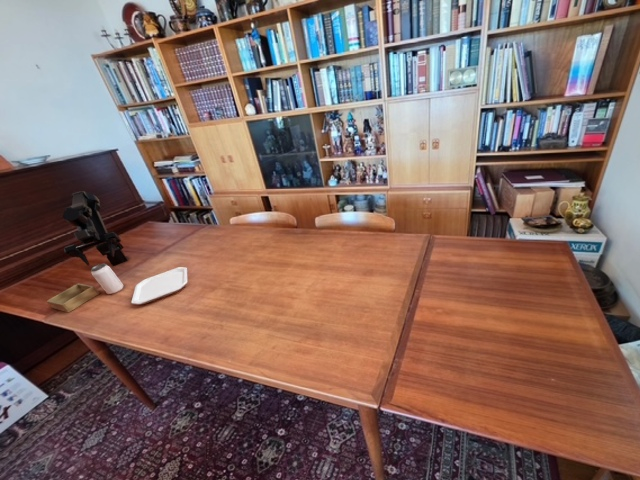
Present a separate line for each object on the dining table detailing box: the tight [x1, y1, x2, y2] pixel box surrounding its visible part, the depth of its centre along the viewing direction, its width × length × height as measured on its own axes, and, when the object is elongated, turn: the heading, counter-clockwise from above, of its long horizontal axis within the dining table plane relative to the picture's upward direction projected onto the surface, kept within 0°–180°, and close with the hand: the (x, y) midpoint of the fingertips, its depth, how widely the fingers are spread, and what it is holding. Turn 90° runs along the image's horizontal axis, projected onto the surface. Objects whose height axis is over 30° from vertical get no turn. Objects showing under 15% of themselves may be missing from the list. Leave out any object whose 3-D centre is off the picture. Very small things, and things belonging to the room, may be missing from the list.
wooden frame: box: [46, 283, 100, 313], centre depth 126 cm, size 12×12×4 cm
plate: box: [130, 266, 188, 306], centre depth 124 cm, size 21×21×2 cm
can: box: [90, 263, 125, 295], centre depth 126 cm, size 6×6×12 cm
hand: (100, 260), depth 129 cm, fingers open, 9 cm apart
